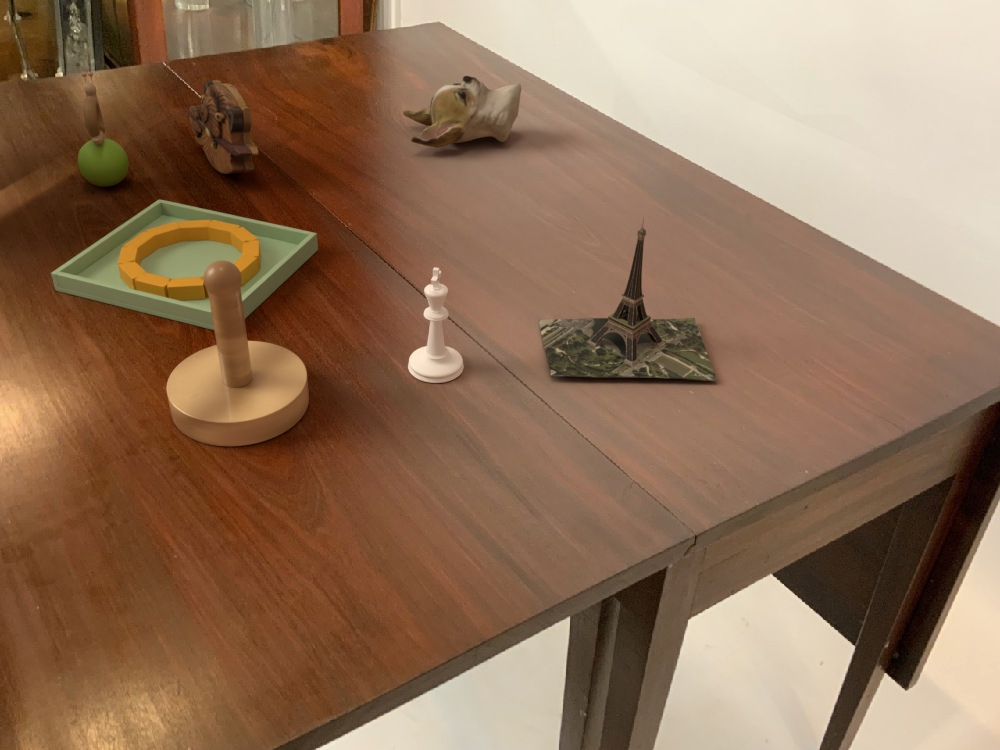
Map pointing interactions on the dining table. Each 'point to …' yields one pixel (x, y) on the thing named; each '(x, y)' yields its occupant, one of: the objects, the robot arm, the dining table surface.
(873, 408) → the dining table surface
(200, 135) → the wooden carving
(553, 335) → the eiffel tower figurine
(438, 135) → the ceramic sculpture
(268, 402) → the post
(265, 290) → the tray
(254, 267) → the hoop
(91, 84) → the snail figurine
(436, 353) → the chess piece
